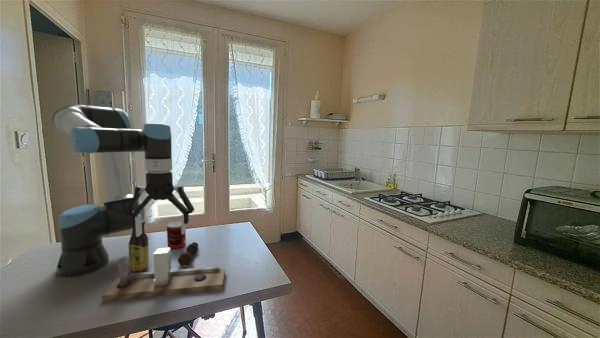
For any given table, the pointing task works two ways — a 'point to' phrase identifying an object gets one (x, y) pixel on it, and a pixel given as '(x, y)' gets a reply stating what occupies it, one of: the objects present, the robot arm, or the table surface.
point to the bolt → (188, 254)
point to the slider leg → (162, 266)
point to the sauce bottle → (138, 251)
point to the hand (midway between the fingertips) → (161, 234)
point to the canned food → (175, 236)
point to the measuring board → (178, 284)
